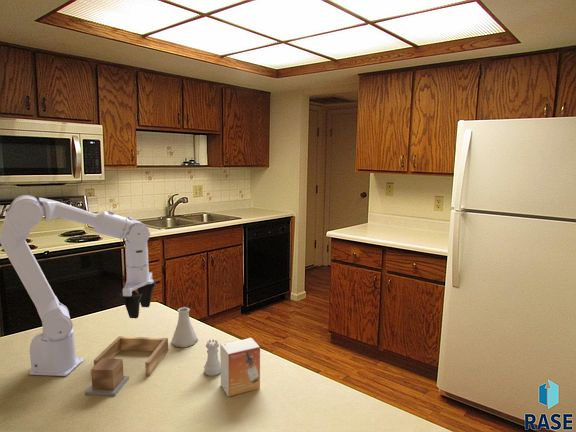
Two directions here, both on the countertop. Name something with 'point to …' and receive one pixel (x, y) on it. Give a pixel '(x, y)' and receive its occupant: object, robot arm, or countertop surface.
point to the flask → (184, 330)
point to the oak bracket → (138, 349)
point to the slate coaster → (107, 392)
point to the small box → (240, 366)
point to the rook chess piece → (212, 359)
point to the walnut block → (107, 374)
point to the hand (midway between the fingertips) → (139, 312)
